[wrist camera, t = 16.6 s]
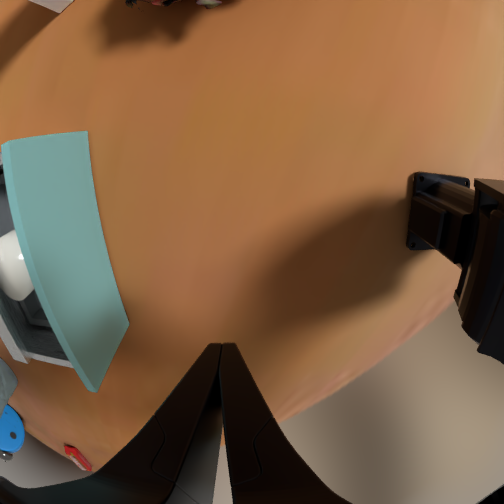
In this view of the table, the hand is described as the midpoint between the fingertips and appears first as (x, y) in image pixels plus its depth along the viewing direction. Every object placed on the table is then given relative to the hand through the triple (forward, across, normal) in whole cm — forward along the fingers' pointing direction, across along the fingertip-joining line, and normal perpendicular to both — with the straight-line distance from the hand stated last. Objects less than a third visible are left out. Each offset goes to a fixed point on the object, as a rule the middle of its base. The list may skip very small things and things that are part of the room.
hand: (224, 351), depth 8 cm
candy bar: (+13, +45, +56) cm, 73 cm away
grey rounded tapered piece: (+11, +18, 0) cm, 21 cm away
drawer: (+12, +17, 0) cm, 21 cm away
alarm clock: (+12, +60, +41) cm, 74 cm away
